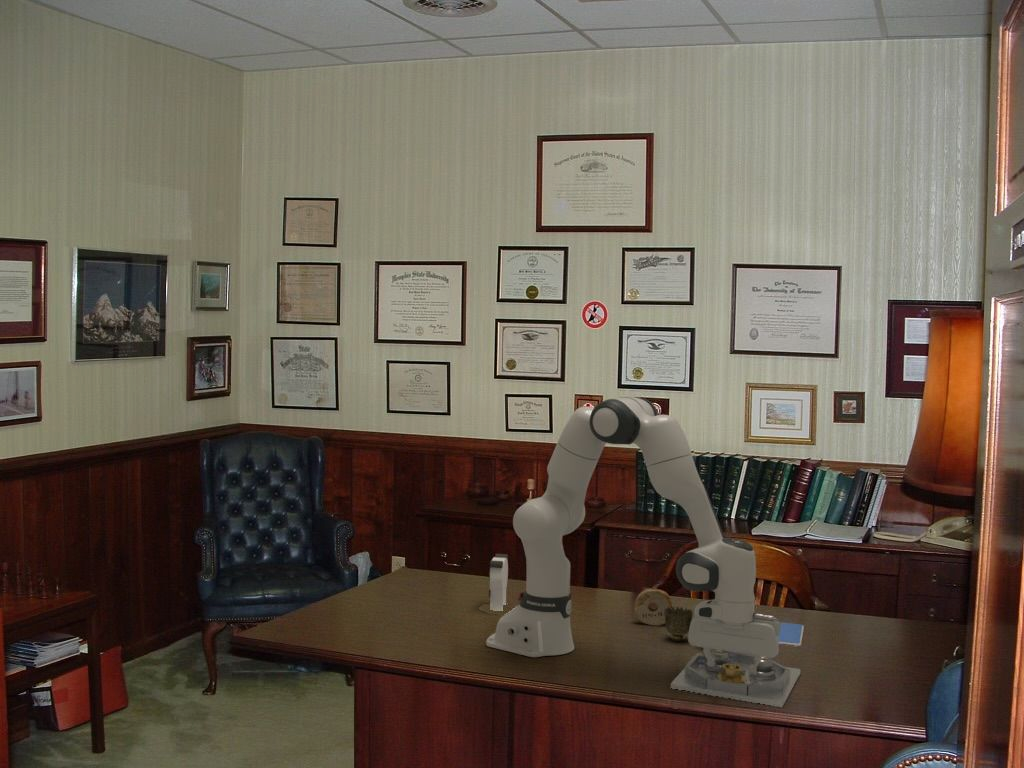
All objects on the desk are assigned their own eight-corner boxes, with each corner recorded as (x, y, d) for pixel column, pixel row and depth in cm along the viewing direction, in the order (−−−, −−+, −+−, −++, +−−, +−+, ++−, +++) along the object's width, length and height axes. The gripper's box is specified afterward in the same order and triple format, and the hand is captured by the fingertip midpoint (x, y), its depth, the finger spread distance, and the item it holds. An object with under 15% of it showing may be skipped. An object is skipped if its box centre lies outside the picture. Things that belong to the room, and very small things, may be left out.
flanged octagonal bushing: (714, 685, 237) (714, 668, 237) (720, 677, 243) (721, 660, 243) (742, 690, 235) (743, 673, 234) (748, 681, 241) (749, 664, 240)
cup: (691, 645, 271) (692, 614, 271) (662, 642, 273) (663, 612, 272) (692, 637, 279) (693, 607, 278) (664, 634, 280) (665, 605, 280)
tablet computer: (800, 648, 273) (801, 643, 273) (751, 643, 276) (751, 638, 276) (804, 629, 291) (804, 624, 291) (757, 624, 295) (757, 619, 295)
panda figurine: (482, 602, 308) (483, 551, 307) (520, 604, 307) (521, 554, 306) (475, 613, 296) (476, 560, 295) (514, 615, 295) (516, 563, 294)
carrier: (670, 688, 238) (671, 664, 238) (697, 658, 261) (698, 635, 261) (782, 707, 228) (783, 682, 228) (800, 674, 251) (801, 650, 250)
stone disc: (671, 623, 291) (673, 588, 290) (671, 627, 287) (672, 591, 287) (634, 621, 293) (635, 585, 292) (633, 624, 289) (634, 589, 288)
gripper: (783, 613, 237) (780, 673, 237) (694, 601, 245) (692, 659, 246) (778, 620, 231) (775, 681, 232) (687, 607, 239) (685, 667, 240)
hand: (732, 670), depth 239 cm, fingers open, 8 cm apart
